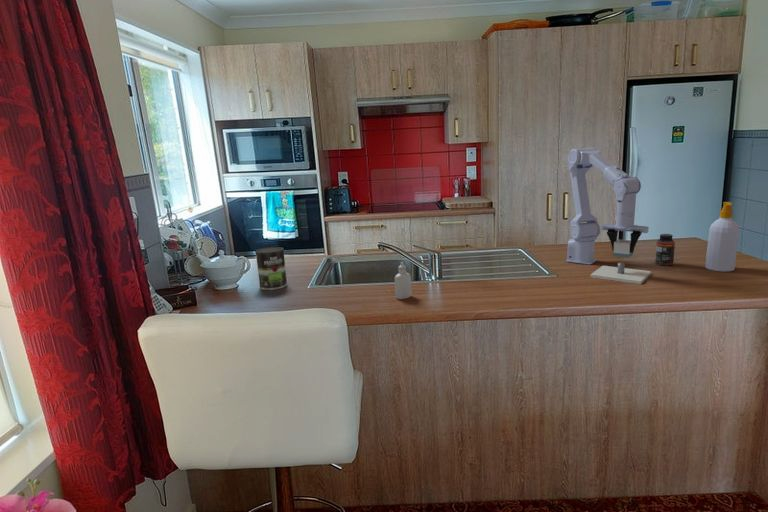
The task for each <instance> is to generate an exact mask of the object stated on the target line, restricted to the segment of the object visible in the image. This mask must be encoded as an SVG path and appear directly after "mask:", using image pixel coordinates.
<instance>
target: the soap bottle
mask: <svg viewBox="0 0 768 512" xmlns="http://www.w3.org/2000/svg"><path fill="white" fill-rule="evenodd" d="M732 207H733V203H732V202H731V201H723V206H722V208H721V210H720V212H719V217H718V219H716V220H715V221H714V222H712V223H711V224H710V225H709V226H710V227H709V231H708V239H707V248H706V256H705V265H704V266H705V268H706V269H707V270H710V271H715V272H723V273H724V272H725V273H727V272H733V271H735V268H736V260H737V253H738V244H739V237H740V236H739V235H740V226H739V225H738V223H737V222H736V221H735V220H734V219H733V210H732V209H733V208H732Z"/></svg>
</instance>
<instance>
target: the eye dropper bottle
mask: <svg viewBox="0 0 768 512" xmlns="http://www.w3.org/2000/svg"><path fill="white" fill-rule="evenodd" d="M394 293H395V299H398V300H405V299H408V298H411V297H412V277H411V274H410V272H407V266H406V265H404V262H403V261H401V262H400V265H399V266H398V273H397V274H395V276H394Z"/></svg>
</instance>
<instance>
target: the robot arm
mask: <svg viewBox="0 0 768 512" xmlns="http://www.w3.org/2000/svg"><path fill="white" fill-rule="evenodd" d="M567 165H568V166H567V167H568V171H569V174H570V182H571V189H572V196H573V203H574V209H575V217H574V218H572V220H571V221H570V231H569V233H570V236H571V237H572V238H569V239H568V242H567V251H566V252H567V254H566V256H567V257H566V262H567V263H577V264H583V265H592V264H594V263H595V262H596V261H598V258H594V257H595V242H596V241H595V240H597V239H598V237H599V236H600V234H601V231H607V232H606V236H607V237H608V239H609V241H610V243H611V248H612V250H611V251H612V252H613V251H614V242H615V241H617V240H618V233H619V232H630V241H631V245H630V253H634V251H635V247H636V244H637V243H638V240H639V239H640V237H641V235H642V234H643V233H644V234H648V233H649V229H650V228H649V226H645V225H638V224H635V217H636V216H635V213H636V202H637V201H636V200H637V194H638V193H639V192H640V191H641V188H642V183H641V181H640V179H639V178H638V177H637V176H629V174H628V173H626V172H625V171H624V170H623V169H621V166H619V165H611V164H610V163H609V162H608V161H607V160H606V159H605V158H604V157H603V156H602V155H601V151H600V150H599V149H598V148H597V147H595V146H594V147H592V146H591V147H586V148H584V147H583V148H572V149H571V150H570V151H569V153H568V155H567ZM593 167H594V168H596V169H597V170H599V171H600V172H601V173H603V175H602V176H603V178H604V180H606V182H607V183H608V184H610V185H611V186H612V187H613V191H614V194H615V200H616V211H615V223H603V224H601V226H600V224H599V222H598V218H597V217H596V216H595V215H594V214H592V212H591V205H590V198H589V191H588V185H587V177H586V174H587V173H588V171H590V170H591V169H592V168H593Z"/></svg>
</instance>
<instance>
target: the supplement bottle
mask: <svg viewBox="0 0 768 512" xmlns="http://www.w3.org/2000/svg"><path fill="white" fill-rule="evenodd" d="M655 247H656V248H655V257H654V259H655V261H654V262H655V265H657V266H663V267H666V266H667V267H668V266H673V264H674V261H675V259H674V258H675V250H676V249H675V247H676V242H675V240H673V234H669V233H661V234H660V235H659V239H658V240H657V241H656V246H655Z"/></svg>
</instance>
